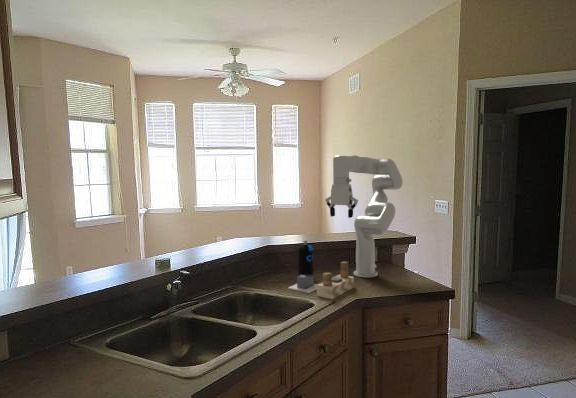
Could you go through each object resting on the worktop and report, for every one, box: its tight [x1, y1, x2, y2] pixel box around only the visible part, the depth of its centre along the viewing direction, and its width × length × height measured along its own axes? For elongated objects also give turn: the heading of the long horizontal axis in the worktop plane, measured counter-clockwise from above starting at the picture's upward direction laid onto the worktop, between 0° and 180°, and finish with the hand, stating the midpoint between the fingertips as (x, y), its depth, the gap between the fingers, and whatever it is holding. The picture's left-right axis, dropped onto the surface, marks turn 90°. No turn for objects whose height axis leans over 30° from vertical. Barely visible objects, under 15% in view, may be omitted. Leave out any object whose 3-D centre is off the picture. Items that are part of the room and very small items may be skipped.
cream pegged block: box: [316, 261, 355, 300], centre depth 175 cm, size 20×8×12 cm, turn 143°
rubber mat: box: [287, 283, 319, 294], centre depth 182 cm, size 12×12×1 cm
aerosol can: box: [297, 240, 314, 277], centre depth 195 cm, size 8×8×20 cm
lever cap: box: [296, 274, 315, 289], centre depth 182 cm, size 7×5×6 cm
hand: (341, 216), depth 183 cm, fingers open, 9 cm apart
